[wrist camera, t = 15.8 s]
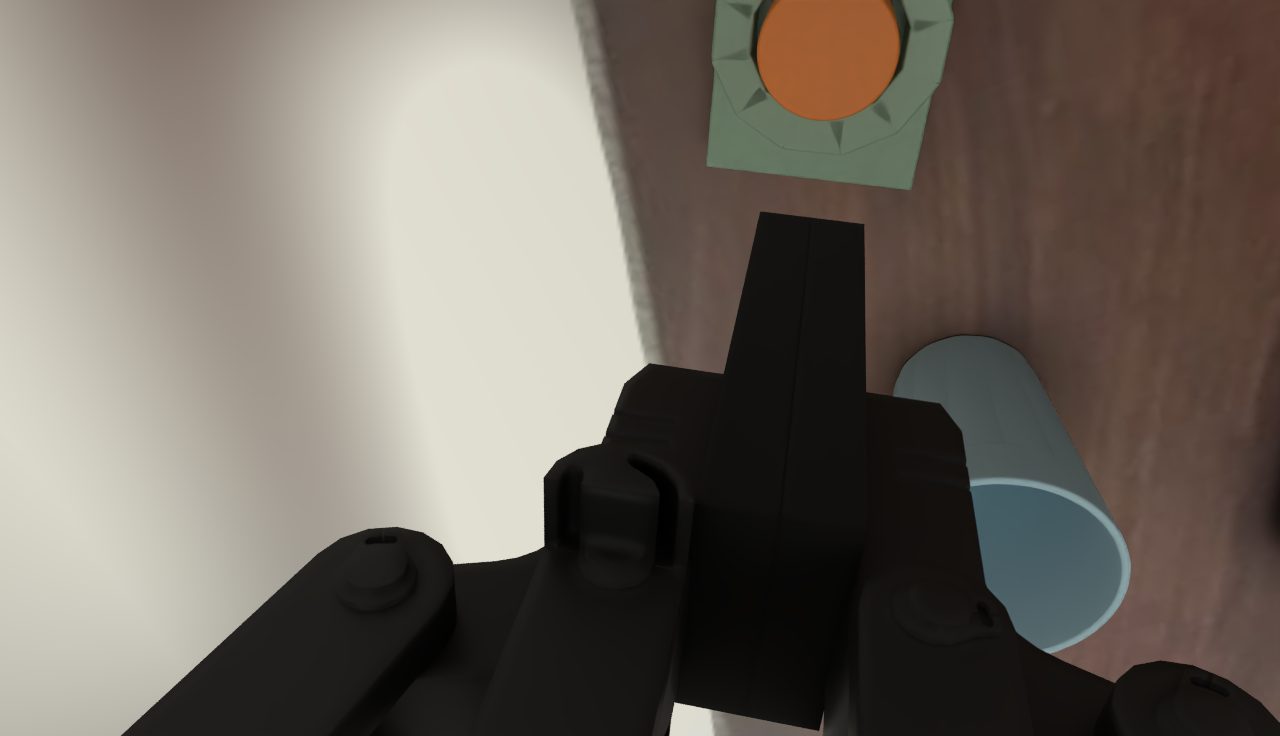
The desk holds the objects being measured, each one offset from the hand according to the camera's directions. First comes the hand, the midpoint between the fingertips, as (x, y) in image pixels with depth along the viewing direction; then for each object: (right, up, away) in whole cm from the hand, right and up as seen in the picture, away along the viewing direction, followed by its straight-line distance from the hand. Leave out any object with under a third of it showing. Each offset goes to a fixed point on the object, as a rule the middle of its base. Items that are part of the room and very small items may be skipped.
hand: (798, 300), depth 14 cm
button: (+3, +9, +14) cm, 17 cm away
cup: (+11, -2, +24) cm, 26 cm away
